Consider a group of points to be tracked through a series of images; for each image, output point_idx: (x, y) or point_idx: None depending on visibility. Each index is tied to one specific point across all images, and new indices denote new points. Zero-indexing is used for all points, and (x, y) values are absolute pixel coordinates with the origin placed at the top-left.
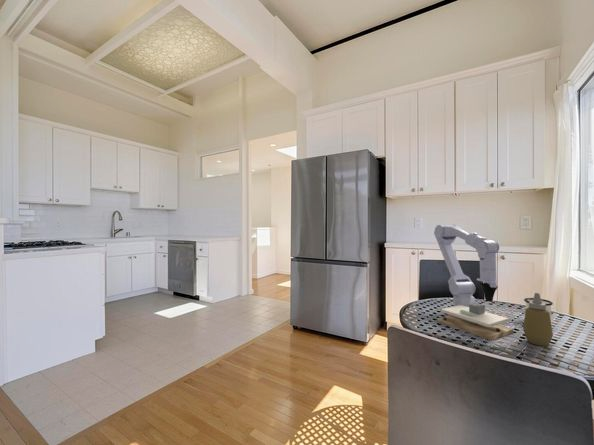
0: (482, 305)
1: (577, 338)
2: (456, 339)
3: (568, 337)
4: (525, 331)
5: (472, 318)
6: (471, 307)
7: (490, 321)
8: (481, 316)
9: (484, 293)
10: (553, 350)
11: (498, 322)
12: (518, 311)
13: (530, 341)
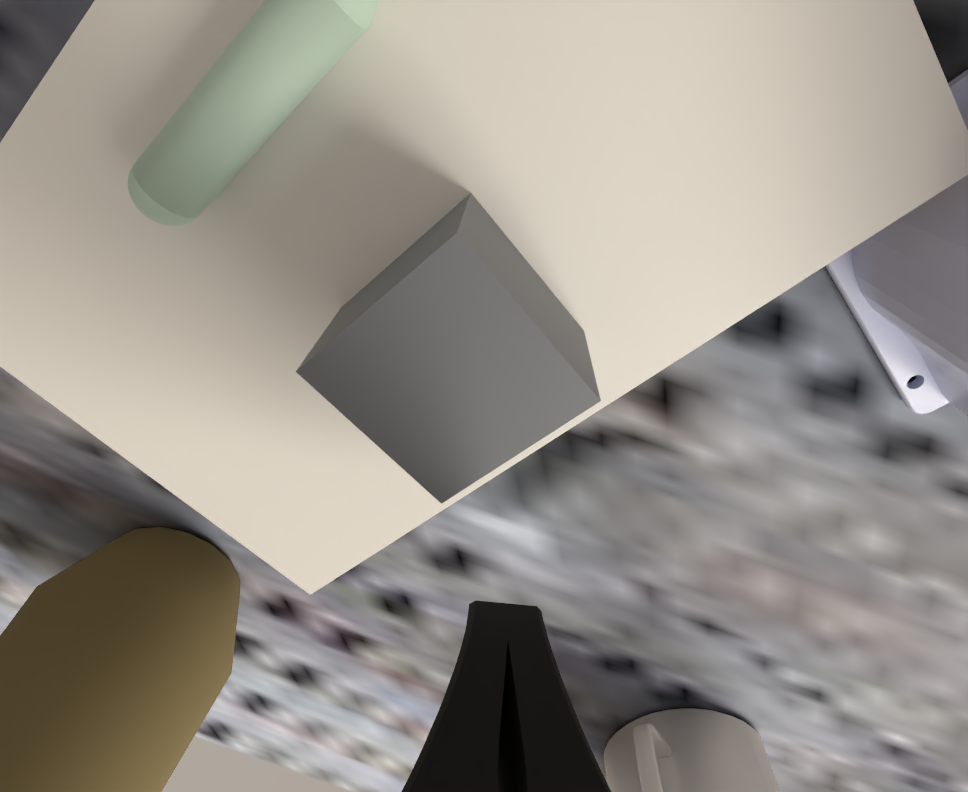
0: (440, 473)
1: (376, 772)
2: None
3: (378, 748)
4: (82, 577)
5: (57, 116)
6: (422, 253)
7: (53, 356)
8: (254, 315)
9: (480, 754)
10: None
11: (125, 444)
12: (949, 747)
13: (120, 537)
